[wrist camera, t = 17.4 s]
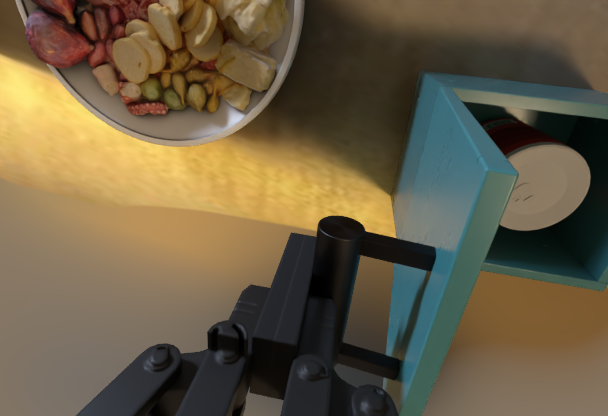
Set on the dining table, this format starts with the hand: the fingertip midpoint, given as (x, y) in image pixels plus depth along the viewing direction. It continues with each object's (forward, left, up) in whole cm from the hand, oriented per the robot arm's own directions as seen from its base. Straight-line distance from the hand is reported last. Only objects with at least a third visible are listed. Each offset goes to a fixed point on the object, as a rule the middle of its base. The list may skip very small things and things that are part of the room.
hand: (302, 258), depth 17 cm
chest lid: (-5, +4, -4) cm, 8 cm away
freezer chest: (-12, +10, -27) cm, 31 cm away
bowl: (+8, -22, -27) cm, 35 cm away
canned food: (-13, +11, -26) cm, 31 cm away
